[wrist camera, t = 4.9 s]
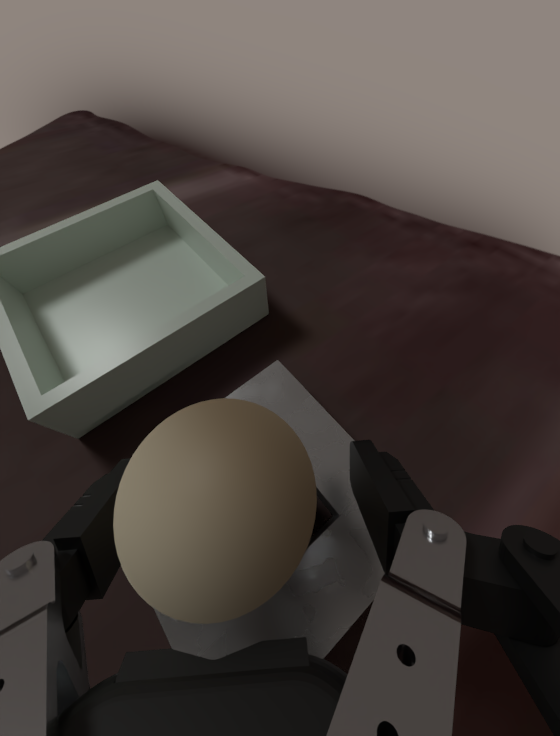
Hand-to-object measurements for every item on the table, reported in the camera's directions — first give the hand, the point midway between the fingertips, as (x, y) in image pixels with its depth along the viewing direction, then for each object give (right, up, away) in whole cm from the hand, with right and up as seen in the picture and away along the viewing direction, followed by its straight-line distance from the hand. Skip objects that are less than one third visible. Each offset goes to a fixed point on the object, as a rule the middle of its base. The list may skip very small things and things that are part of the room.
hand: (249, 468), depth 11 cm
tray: (-11, +9, +13) cm, 19 cm away
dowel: (0, -4, +5) cm, 7 cm away
